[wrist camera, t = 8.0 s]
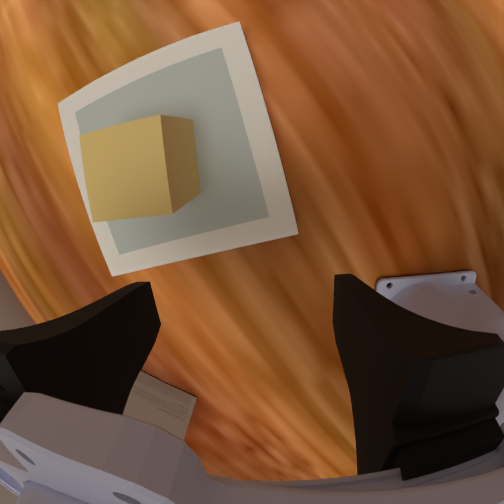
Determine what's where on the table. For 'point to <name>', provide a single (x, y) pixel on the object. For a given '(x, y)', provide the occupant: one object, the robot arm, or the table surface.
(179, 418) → the supplement box
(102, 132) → the block
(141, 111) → the base
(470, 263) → the table surface
